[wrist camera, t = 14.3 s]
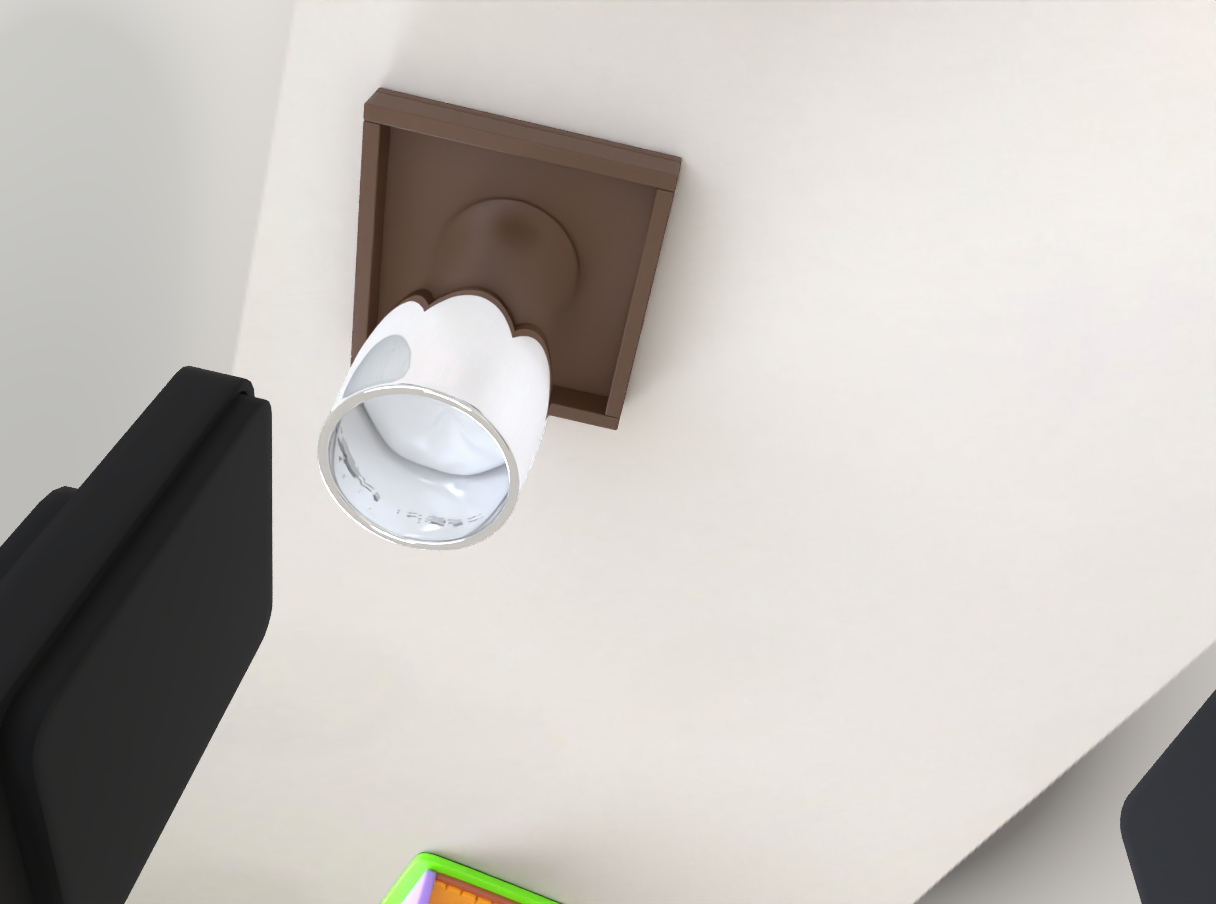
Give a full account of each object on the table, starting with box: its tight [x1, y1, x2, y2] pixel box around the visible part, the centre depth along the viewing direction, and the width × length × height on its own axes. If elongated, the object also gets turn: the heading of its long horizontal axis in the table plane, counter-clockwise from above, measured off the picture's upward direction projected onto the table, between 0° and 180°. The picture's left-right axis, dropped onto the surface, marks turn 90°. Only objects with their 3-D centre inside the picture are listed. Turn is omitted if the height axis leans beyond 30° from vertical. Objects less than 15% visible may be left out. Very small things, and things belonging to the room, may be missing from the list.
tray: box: [351, 88, 681, 430], centre depth 45 cm, size 12×12×2 cm
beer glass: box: [317, 199, 578, 551], centre depth 40 cm, size 7×7×15 cm
